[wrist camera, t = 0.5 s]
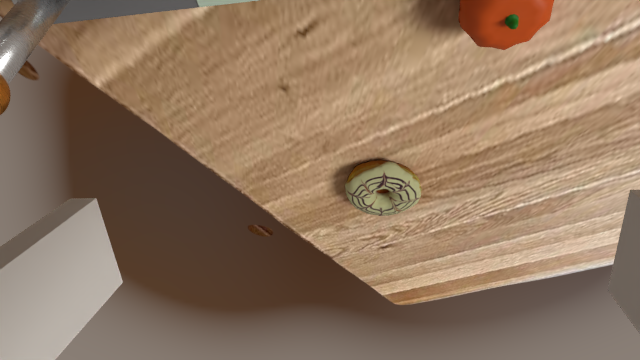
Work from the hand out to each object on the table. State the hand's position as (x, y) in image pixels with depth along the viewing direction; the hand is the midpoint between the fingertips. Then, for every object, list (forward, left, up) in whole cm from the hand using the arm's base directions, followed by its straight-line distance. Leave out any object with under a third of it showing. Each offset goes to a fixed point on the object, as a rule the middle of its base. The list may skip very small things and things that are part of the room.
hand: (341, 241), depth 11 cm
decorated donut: (+36, -19, -34) cm, 54 cm away
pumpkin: (+17, +5, -34) cm, 39 cm away
